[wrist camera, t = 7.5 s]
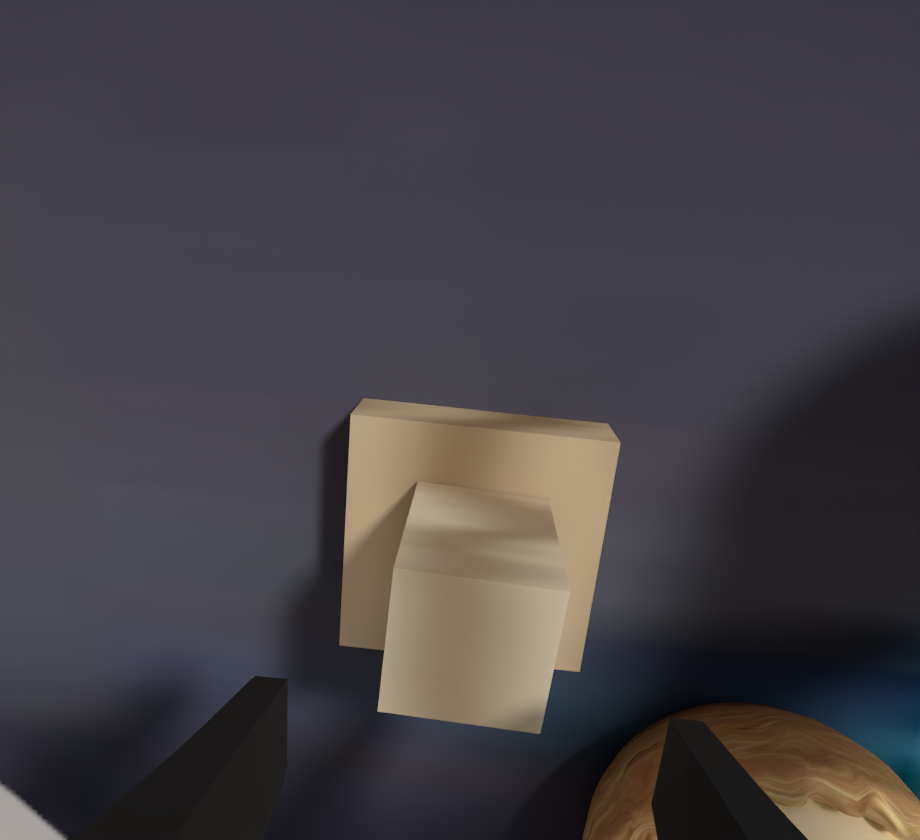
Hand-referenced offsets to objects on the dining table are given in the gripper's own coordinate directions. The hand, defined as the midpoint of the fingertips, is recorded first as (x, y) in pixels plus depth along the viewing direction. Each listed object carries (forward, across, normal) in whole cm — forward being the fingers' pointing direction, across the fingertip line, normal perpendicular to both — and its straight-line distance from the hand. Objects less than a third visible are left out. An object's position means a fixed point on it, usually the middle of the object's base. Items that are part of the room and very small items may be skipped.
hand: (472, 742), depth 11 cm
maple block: (+8, 0, 0) cm, 8 cm away
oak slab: (+10, 0, 0) cm, 10 cm away
